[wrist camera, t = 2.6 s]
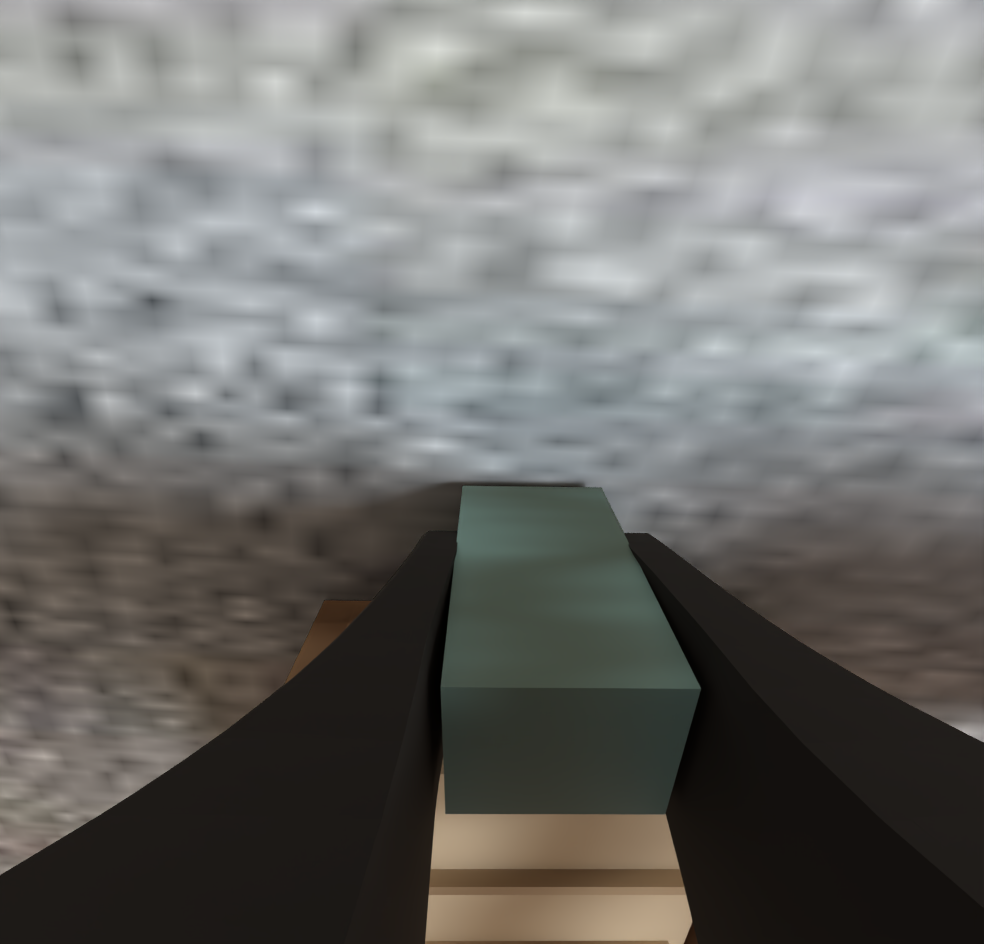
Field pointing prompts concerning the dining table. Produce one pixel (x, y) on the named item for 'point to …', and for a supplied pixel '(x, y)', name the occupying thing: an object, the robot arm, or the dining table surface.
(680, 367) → the dining table surface
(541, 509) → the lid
